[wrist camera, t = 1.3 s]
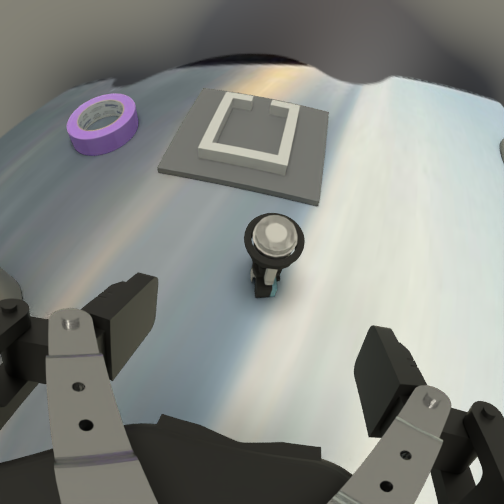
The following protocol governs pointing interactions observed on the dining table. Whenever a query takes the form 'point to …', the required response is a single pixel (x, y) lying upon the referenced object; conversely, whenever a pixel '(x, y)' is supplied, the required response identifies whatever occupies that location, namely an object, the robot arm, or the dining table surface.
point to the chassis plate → (251, 145)
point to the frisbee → (502, 149)
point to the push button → (272, 249)
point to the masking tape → (109, 135)
